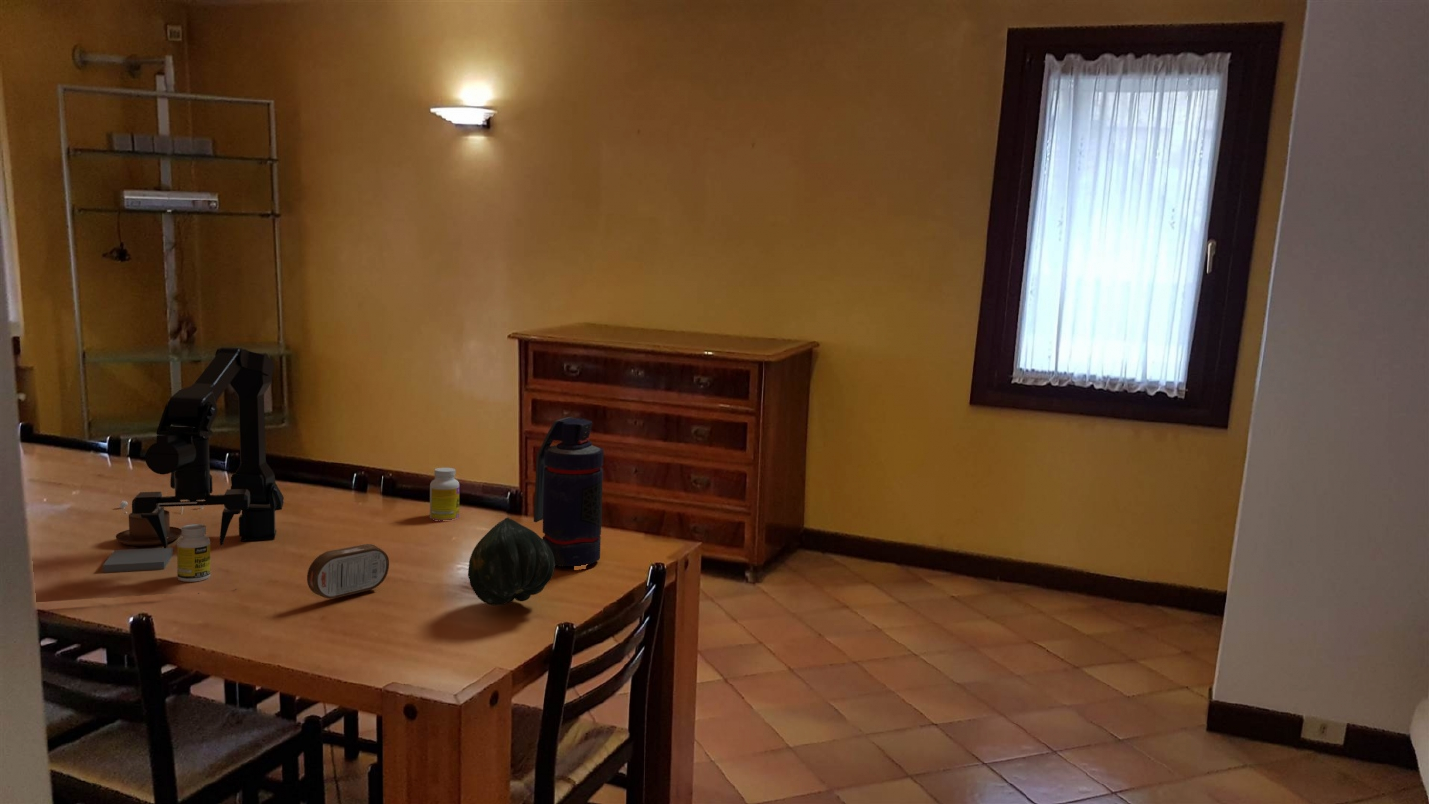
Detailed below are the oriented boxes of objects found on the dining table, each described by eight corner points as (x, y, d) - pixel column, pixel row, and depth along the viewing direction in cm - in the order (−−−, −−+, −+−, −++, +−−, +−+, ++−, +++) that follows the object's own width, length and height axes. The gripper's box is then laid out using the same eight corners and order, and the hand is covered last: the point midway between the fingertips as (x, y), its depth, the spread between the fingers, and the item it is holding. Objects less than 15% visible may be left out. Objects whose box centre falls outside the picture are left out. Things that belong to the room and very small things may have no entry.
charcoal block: (172, 557, 193) (172, 547, 193) (164, 572, 184) (163, 561, 184) (115, 560, 190) (114, 550, 189) (103, 575, 180) (102, 565, 180)
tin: (382, 582, 182) (382, 539, 181) (391, 586, 180) (392, 542, 179) (305, 600, 171) (305, 554, 170) (315, 604, 169) (314, 558, 168)
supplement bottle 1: (196, 584, 176) (195, 531, 175) (170, 580, 177) (169, 528, 176) (217, 575, 182) (216, 524, 180) (192, 572, 183) (191, 521, 182)
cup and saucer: (122, 536, 205) (121, 507, 204) (186, 533, 209) (186, 505, 208) (110, 551, 194) (109, 521, 193) (178, 548, 198) (177, 519, 197)
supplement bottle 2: (460, 526, 225) (461, 471, 223) (431, 527, 222) (431, 472, 221) (457, 519, 231) (457, 466, 229) (428, 520, 228) (428, 467, 227)
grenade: (608, 559, 204) (613, 418, 200) (586, 574, 192) (590, 426, 189) (548, 551, 207) (552, 413, 204) (523, 566, 196) (526, 420, 192)
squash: (453, 602, 173) (454, 520, 171) (524, 586, 183) (526, 509, 181) (496, 624, 163) (498, 538, 161) (569, 606, 173) (571, 525, 171)
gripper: (252, 454, 188) (253, 532, 190) (142, 456, 181) (144, 537, 183) (246, 465, 177) (248, 548, 179) (130, 468, 171) (132, 554, 173)
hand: (193, 546), depth 179 cm, fingers open, 9 cm apart
